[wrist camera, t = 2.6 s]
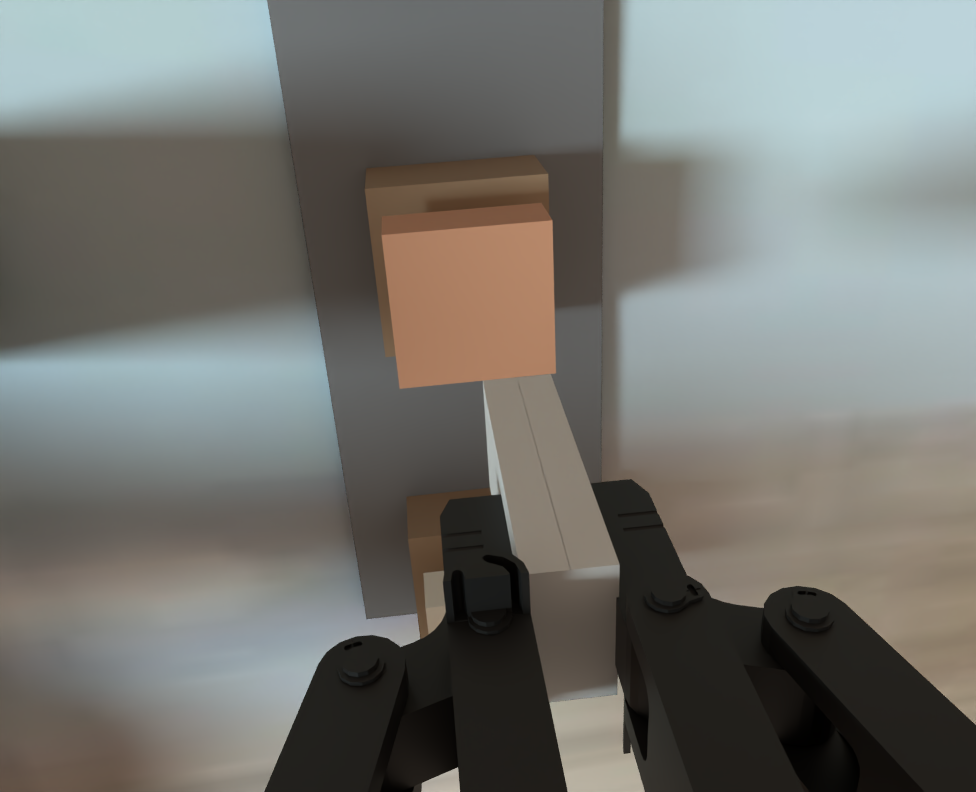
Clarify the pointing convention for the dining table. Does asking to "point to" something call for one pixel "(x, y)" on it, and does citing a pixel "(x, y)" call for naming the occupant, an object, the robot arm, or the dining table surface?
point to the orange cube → (471, 294)
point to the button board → (431, 188)
